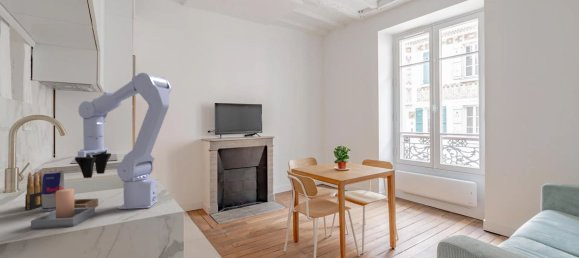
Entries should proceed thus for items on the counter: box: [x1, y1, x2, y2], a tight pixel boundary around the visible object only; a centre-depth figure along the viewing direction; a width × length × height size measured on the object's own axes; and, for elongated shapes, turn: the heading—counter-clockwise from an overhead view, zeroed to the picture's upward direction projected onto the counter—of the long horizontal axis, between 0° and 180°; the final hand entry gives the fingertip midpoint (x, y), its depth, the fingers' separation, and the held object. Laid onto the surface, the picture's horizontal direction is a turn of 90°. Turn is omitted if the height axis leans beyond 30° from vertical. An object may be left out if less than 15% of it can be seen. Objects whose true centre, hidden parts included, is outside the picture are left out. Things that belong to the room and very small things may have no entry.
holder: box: [74, 198, 99, 208], centre depth 85 cm, size 7×7×2 cm
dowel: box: [56, 188, 75, 218], centre depth 75 cm, size 4×4×8 cm
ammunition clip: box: [24, 167, 59, 211], centre depth 90 cm, size 11×2×12 cm, turn 174°
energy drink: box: [41, 170, 65, 213], centre depth 85 cm, size 5×5×12 cm
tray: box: [30, 207, 96, 229], centre depth 75 cm, size 10×10×2 cm
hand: (94, 175), depth 93 cm, fingers open, 7 cm apart
